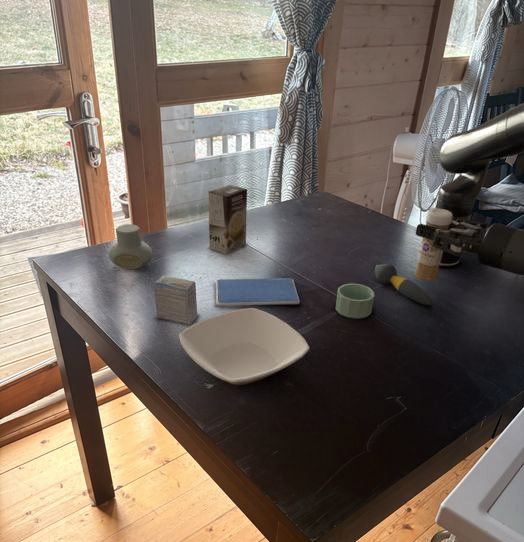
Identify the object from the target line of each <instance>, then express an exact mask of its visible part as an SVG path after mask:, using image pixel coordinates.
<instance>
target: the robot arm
mask: <svg viewBox="0 0 524 542" xmlns="http://www.w3.org/2000/svg"><path fill="white" fill-rule="evenodd" d="M523 153H524V102H523V103H520V104H518V105H516V106H515V107H512V108H510V109H508V110H506V111H505V112H502V113H501V114H499V115H497V116H495V117H493V118H491V119H489V120H487V121H485V122H483V123H481V124H480V125H478V126H476V127H474V128H470V129H467V130H464V131H461V132H457V133H455V134H452V135H450V136H448V137H447V139H446V140H445V141H444V142H443V144H442V146H441V148H440V150H439V155H438V162H439V165H440V167H441V168H442V170H443V171H445V172H447V173H449V174H455V175H458V176H457V177H456V178H455V179H453V180H452V181H449V182H447V183H445V184H443V185H442V186H441V187H440V188H439V191H438V195H437V200H436V203H435V208H434V209H444V210H448V211H450V212H451V213H452V220H451V223H450V225H449V228H448V230H445V229H437V228H435V227H432V226H428V225H426V224H424V223H419V224H417V226H416V229H415V236H417V237H421V238H423V237H424V238H427V239H431V240H433V244H432V246H434V247H436V248H438V249H441V250H443V254H442V258H441V262H440V264H439V268H445V269H446V268H454V267H457V266H458V265H459V262H460V257H461V254H463V253H473V254H477V261H478V263H479V264H481V265H484V266H487V267H491V268H493V269H498V270H501V271H504V272H507V273H511V274H513V275H514V274H515V275H519V276H524V229H522V228H518V227H515V226H510V225H505V224H502V223H498V222H495V223H492V224H491V225H490V226H489V224H488V223H487V222H481V221H476V220H471V218H472V213H473V210H474V207H475V203H476V199H477V198H478V195H479V194H480V193H481V191H482V187H483V184H484V181H485V178H486V175H487V173H488V170H489V166H490V164H491V160H495V159H503V158H507V157H514V156H518V155H521V154H523ZM488 226H489V227H488ZM445 234H446V235H445ZM442 244H443V245H442Z"/></svg>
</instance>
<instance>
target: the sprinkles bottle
mask: <svg viewBox="0 0 524 542" xmlns="http://www.w3.org/2000/svg"><path fill="white" fill-rule="evenodd" d="M451 220H452V213H451V212H450V211H448V210H444V209H435V208H430V209H429V210H427V213H426V217H425V225H428V226H432V227H435V228H437V229H445V230H448V228H449V225H450V223H451ZM445 235H446V234H445ZM432 244H433V240H431V239H427V238H424V237H422V239H421V245H419V246H420V247H419V251H418V256H417V261H416V265H415V266H416V267H415V271H414V276H415V277H416V278H417V279H419V280H422V281H426V282H429V281H431V282H432V281H435V280H436V279H437V278H438V272H439V268H440V267H439V264H440V262H441V258H442V254H443V250H441V249H438V248H436V247H434V246H432ZM442 245H443V244H442Z"/></svg>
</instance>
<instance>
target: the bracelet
mask: <svg viewBox="0 0 524 542" xmlns="http://www.w3.org/2000/svg"><path fill="white" fill-rule="evenodd" d="M374 301H375V291H374V290H373V289H372V288H371V287H369V286H367V285H364V284H360V283H346V284H342V285H341V286H339V287H338V288H337V294H336V302H335V311H336V312H337V313H338V314H339V315H341V316H343V317H345V318H349V319H357V320H358V319H364V318H367V317H369V316H370V315H372V312H373V311H372V310H373V306H374Z"/></svg>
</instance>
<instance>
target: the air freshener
mask: <svg viewBox="0 0 524 542" xmlns="http://www.w3.org/2000/svg"><path fill="white" fill-rule="evenodd" d="M115 234H116V235H115V236H116V242H115V243H114V244H113V245H112V246H111V247H110V249H109V251H108V258H109V261H111V263H112V264H113V265H114V266H116V267H118V268H121V269H124V270H127V271H134V270H137V269H140V268H142V267H145V266H146V265H148V264H149V263H150V262H151V260H152V258H153V250H152V247H151V246H150V245H149V244H148V243H147V242H145V241H142V236H141V235H142V234H141V228H140V227H139V225H136V224H132V223H131V224H130V223H129V224H127V223H126V224H121V225H119V226H117V227H116V229H115Z"/></svg>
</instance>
